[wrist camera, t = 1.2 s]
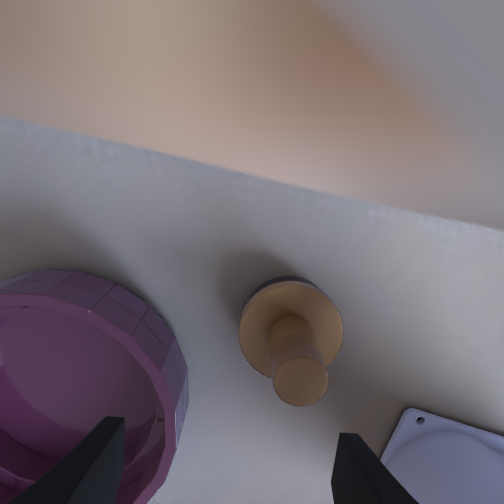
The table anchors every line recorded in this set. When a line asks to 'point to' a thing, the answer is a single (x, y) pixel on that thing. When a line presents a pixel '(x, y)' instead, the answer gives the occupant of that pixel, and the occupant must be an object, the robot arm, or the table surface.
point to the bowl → (85, 379)
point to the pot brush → (291, 337)
